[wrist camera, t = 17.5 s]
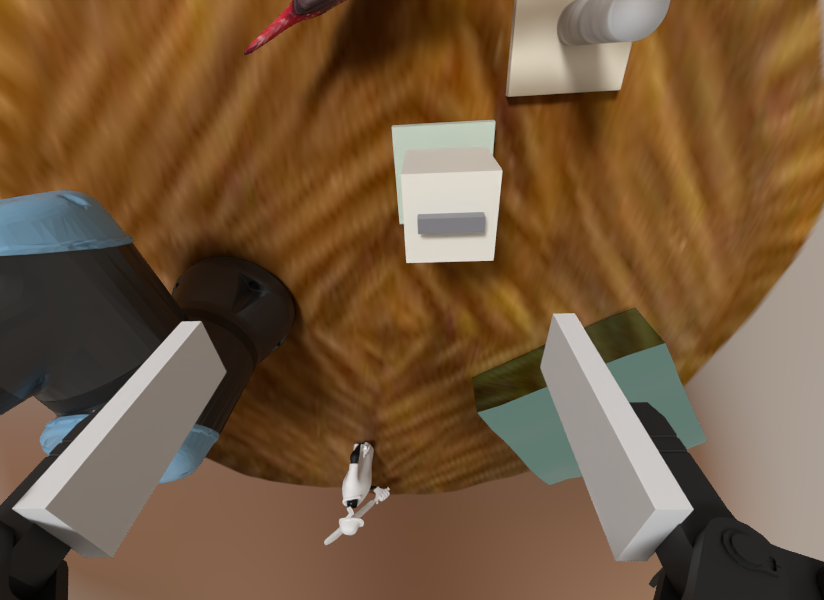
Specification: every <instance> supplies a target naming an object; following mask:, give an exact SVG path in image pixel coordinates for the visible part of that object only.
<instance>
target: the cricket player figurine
mask: <svg viewBox="0 0 824 600" xmlns="http://www.w3.org/2000/svg"><path fill="white" fill-rule="evenodd" d="M373 453H374V449H373V447H372V446H371V444H370V443H367V442H365V444H360V443H359V444H354V451H353V452H352V454H351V457H350V460H351V464H350V468H349V471H348V473H347V474H346V476H345V478H344V481H343V486H342V493H343V501H342V502H343V505H345V506H347V507H348V508H347V511H348V513H349V514H348V515H347V516H346V518H341V519H340V520H339V525H340V527H339V528H338V529H337V530H336V531H335V532H333V533H332V534H331V535H330V536H329V537H328V538H327V539H326V540H325V541H324V544H325V545H328V544H330V543H332V542H333V541H334V540H336V539H337V538H338V537H339V536H340V535H342V534H343V533H344V534H345V535H353V534H355V533H356V531H357V529H358V527H362V526H363V525H364V521H363V520H362V519H360V517H361V516H362V515H363V514H365V513H366V512H367V511H368V510H369V509H370V508H371V507H372V506H373V505H374V503H375V502H376V504H378V499H379V500H380V501H383V500H385V499H386V498H387V497H388V496H389V495H390V493H389V492H388V490H390V489H389V487H388V488H387V489H381V488H380V487H378V486H371V482H372V476H371V467H372V459H373ZM369 489H374V492H375V493H376V497H375V499H374V500H371V501H369V502H368V503H367V504H366V505H365V506H364V507H362V508H361V509H360V510H359V511H358V512H357V513H355V514H354V512H353V510H352V508H356V507H358V505H359V504H360V503H361V502H362V501H363V500H364V498H365V497H366V495H367V494H368V492H369ZM352 515H353V516H352Z"/></svg>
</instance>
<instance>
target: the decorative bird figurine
mask: <svg viewBox="0 0 824 600" xmlns="http://www.w3.org/2000/svg"><path fill="white" fill-rule="evenodd" d="M344 1H346V0H292V1H291V3H290V5H289V6H288V7H287V8H286V10H285V11H284V12H283V13H282V14H281V15H280V16H279V17H278V18H277V19H276V20H275V21H274V22H273V23H272V24H271V25H270V26H269V27H268V28H266V29H265V31H264V32H262V33H261V34H260V36H258V37H257V38H256V39H255V40H254V41H253V42H252V43H251V44H250V45H249V46H248V47H247V49H246V50H245V52H244V55H247V54H249V53H252V52H253V51H255V50H257V49H258V48H259V47H261V46H263V45H264V44H265V43H267V42H268V41H270V40H271V39H273V38H274V37H276V36H277V35H278V34H280V33H281V32H283V31H284V30H286V29H287V28H289V27H291V26H292V25H294V24H296V23H298V22H300V21H304V20H307V19H310V18H314V17H317V16H319V15H321V14H323V13H325V12H327V11H328V10H330V9H332V8H333V7H335V6H337V5H338V4H340V3H342V2H344Z"/></svg>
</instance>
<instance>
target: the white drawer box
mask: <svg viewBox="0 0 824 600" xmlns="http://www.w3.org/2000/svg"><path fill="white" fill-rule="evenodd" d="M502 171H503V170H502V169H501V167H500V166H499V164H498V163H497V161H496V160H495V158H494V157H493V155H492V154H491V152H490V151H489V149H488V148H487V146H484V147H461V148H439V149H416V150H406V153H405V157H404V162H403V166H402V171H401V187H402V202H403V217H404V233H405V248H406V263H421V262H460V261H494V251H495V241H496V231H497V221H498V211H499V201H500V191H501V181H502Z"/></svg>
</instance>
